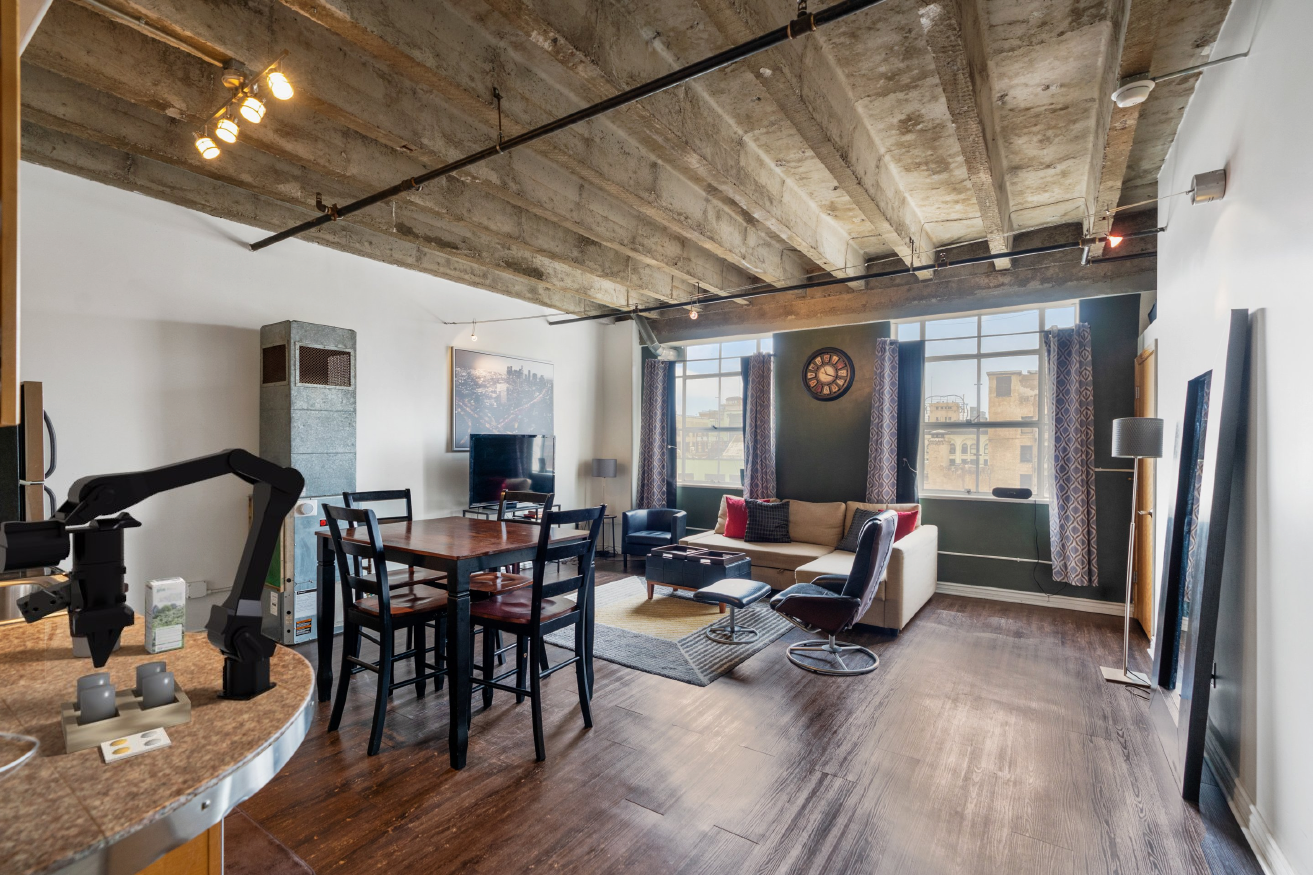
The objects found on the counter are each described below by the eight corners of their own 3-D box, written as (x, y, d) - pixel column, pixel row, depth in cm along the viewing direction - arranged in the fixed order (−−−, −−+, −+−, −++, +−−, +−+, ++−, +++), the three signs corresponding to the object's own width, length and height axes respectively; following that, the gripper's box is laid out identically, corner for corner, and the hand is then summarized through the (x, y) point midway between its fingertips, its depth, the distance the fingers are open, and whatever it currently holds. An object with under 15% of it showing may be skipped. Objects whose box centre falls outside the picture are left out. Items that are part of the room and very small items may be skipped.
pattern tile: (162, 729, 94) (162, 725, 94) (171, 745, 89) (171, 741, 89) (100, 745, 89) (100, 742, 89) (105, 763, 84) (105, 759, 84)
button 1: (108, 696, 100) (108, 670, 100) (111, 703, 97) (111, 676, 97) (76, 703, 97) (76, 677, 97) (77, 710, 94) (77, 683, 94)
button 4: (171, 695, 100) (171, 669, 100) (176, 702, 97) (176, 675, 97) (140, 702, 97) (141, 676, 97) (144, 710, 94) (144, 682, 94)
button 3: (164, 684, 105) (164, 659, 105) (168, 690, 102) (168, 664, 102) (134, 690, 102) (134, 665, 102) (137, 697, 99) (138, 671, 99)
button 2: (113, 709, 95) (113, 682, 95) (116, 716, 92) (116, 688, 92) (79, 717, 92) (79, 689, 92) (81, 725, 89) (81, 696, 89)
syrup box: (177, 642, 136) (177, 575, 136) (185, 647, 132) (185, 579, 133) (144, 649, 132) (144, 580, 132) (151, 655, 128) (151, 583, 128)
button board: (174, 696, 107) (174, 678, 107) (190, 721, 97) (190, 701, 97) (61, 722, 97) (61, 703, 97) (66, 753, 87) (66, 731, 87)
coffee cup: (90, 661, 124) (90, 585, 124) (50, 658, 126) (51, 583, 126) (140, 645, 134) (140, 575, 134) (103, 643, 136) (103, 573, 136)
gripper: (20, 560, 93) (20, 666, 93) (21, 579, 80) (22, 701, 80) (118, 550, 101) (119, 647, 101) (134, 566, 88) (135, 677, 88)
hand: (99, 667), depth 92 cm, fingers closed
